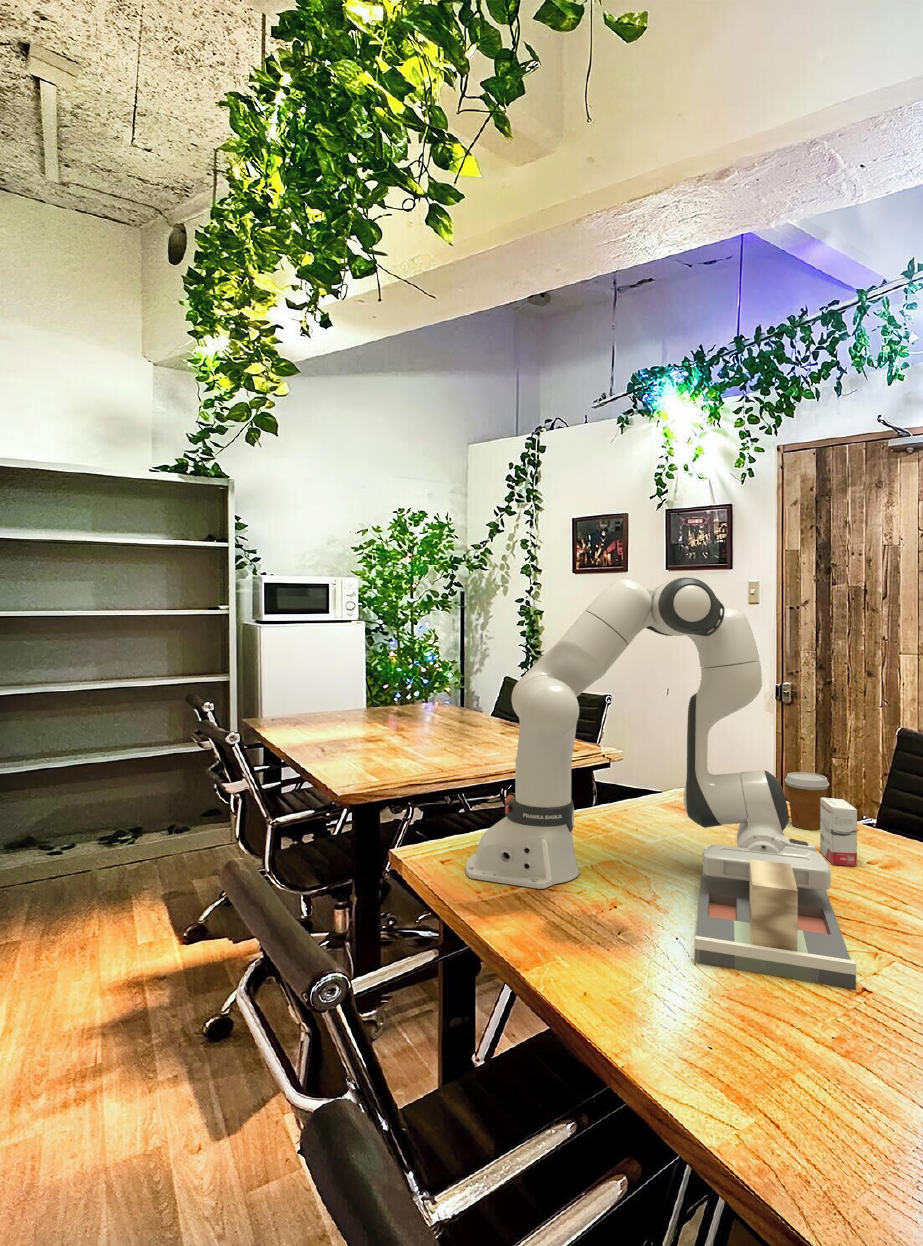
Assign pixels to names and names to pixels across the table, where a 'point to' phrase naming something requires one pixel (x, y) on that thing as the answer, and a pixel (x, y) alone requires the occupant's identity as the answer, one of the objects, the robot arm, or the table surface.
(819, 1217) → the table surface
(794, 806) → the disposable coffee cup
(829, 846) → the ink box
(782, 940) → the maple block
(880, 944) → the table surface
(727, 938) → the trap runway
